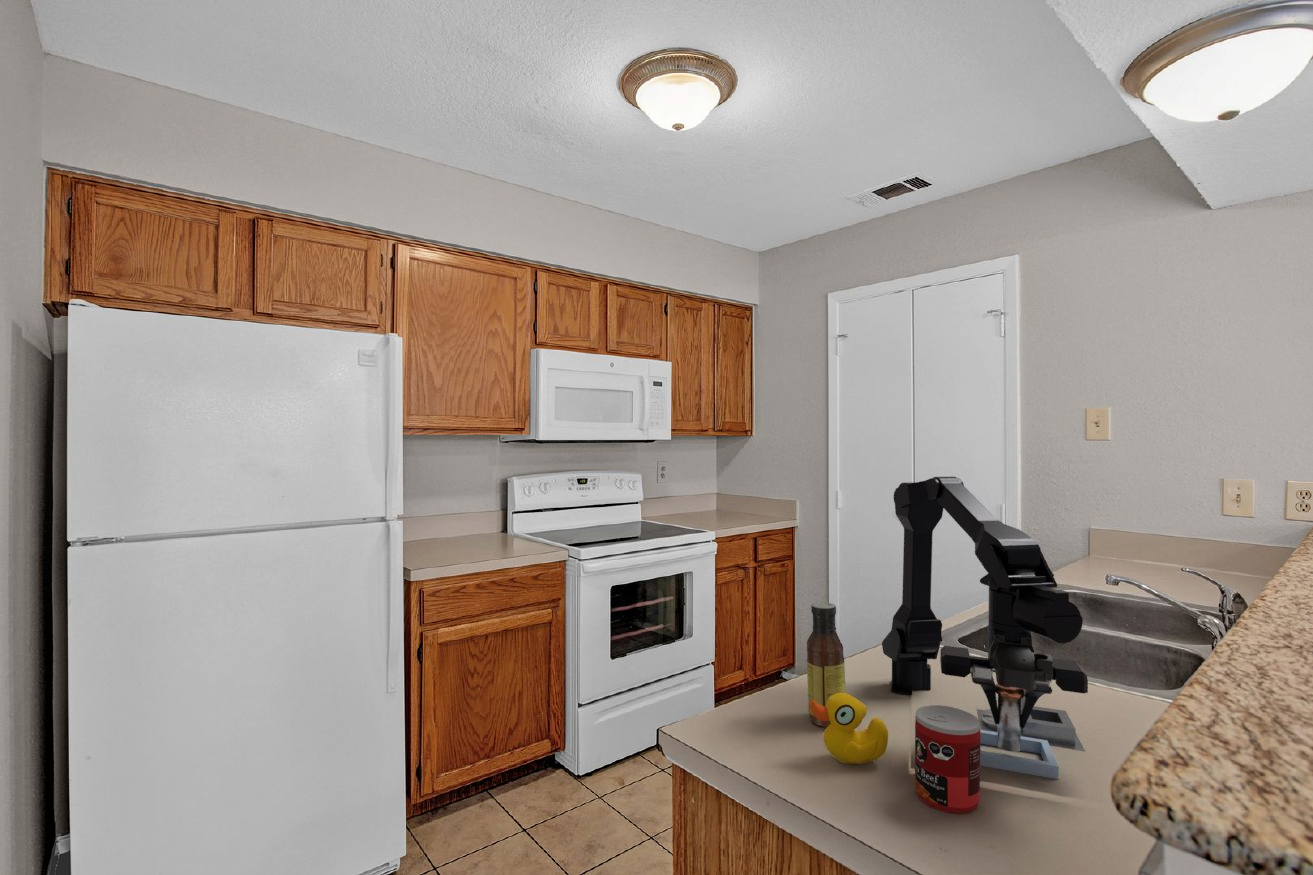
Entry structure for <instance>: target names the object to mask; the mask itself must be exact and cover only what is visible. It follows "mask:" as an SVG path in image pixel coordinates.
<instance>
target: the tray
mask: <svg viewBox="0 0 1313 875" xmlns="http://www.w3.org/2000/svg"><path fill="white" fill-rule="evenodd" d="M980 734H981V740H980V745H987V746H993V747H998V748H1000V747H999V746H998V745H997V738H998V732H991V731H985V730H981V729H980ZM1020 751H1021V752H1022V751H1023V752H1028V753H1035V754H1040V756H1041V757H1042V760H1039V759H1033V758H1028V757H1027V758H1026V757H1022V756H1015V755H1010V754H1006V753H1005V754H1004V753H999V752H991V751H988V750H981V749H980V767H981V766H982V767H988V768H993V769H998V770H1004V771H1009V772H1014V773H1015V772H1016V773H1022V774H1025V775H1032V776H1038V777H1043V778H1047V779H1048V778H1049V779H1055V780H1059V769H1060V768H1059V765H1058V762H1057V760H1056V757H1055V755H1054V753H1053V750H1052V748H1051V746H1049V743H1048V741H1047V740H1041V739H1035V738H1029V737H1023V736H1021V742H1020Z"/></svg>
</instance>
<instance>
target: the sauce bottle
mask: <svg viewBox="0 0 1313 875" xmlns="http://www.w3.org/2000/svg"><path fill="white" fill-rule="evenodd" d="M836 607H837V606H836V605H835V604H834V603H831V602H826V601H821V602H814V603H811V608H810V610H811V614H812V632H811V633H810V635H809V636H808V638H807V641H806V656H807V657H806V673H807V674H806V675H807V676H806V677H807V678H806V679H807V706H808V710H807V711H808V714H809V720H810V721H811V722H812V724H813V725H816V726H819V727H822V728H825V729H826V728H827V727H828V726H829V725H830V724H831V722H830V720H829V721H821V720H819V719H818V718H816V717H815V716H814V715H813V713H812V711H811V708H810V702H811V701H812V700H814V701H815V702H816V703H817V704H818V705H821V706H825V707H826V702H827V700H828V698H829V697H830V696H832V695H834V694H836V693H847V692H846V668H845V657H844V645H843V643H842V641H841V640H840V637H839V635H838V633H837V631H836V630H837V627H836V614H837V608H836Z"/></svg>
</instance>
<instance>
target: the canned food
mask: <svg viewBox="0 0 1313 875" xmlns="http://www.w3.org/2000/svg"><path fill="white" fill-rule="evenodd" d="M914 722H915V724H914V730H915V731H914V767H915V768H914V786H915V790H916V793H917V794H916V795H917V796H918V797H919V799H920V800H921V801H922V802H924V803H925V804H926V805H928V806H929V807H932V808H934V809H936V810H939V811H942V812H945V813H949V814H950V813H952V814H966V813H967V814H968V813H971V812H974V811H975V810H976V809H977V808H978V806H979V804H980V800H981V796H980V794H981V765H980V750H981V744H980V740H981V734H980V730H981V727H980V722H979V718H978V717H977V716H975V715H974V714H972V713H970V712H968V711H966V710H963V709H960V708H958V707H957V708H956V707H952V706H949V705H948V706H947V705H940V704H939V705H936V704H935V705H934V704H933V705H923V706H922V707H919V708H918V709H916V712H915V720H914Z"/></svg>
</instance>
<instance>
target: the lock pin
mask: <svg viewBox="0 0 1313 875" xmlns="http://www.w3.org/2000/svg"><path fill="white" fill-rule="evenodd" d="M995 692H996V695H997V708H998V738H997V745H998V746H999V747H998V748H1000V749H1002V750H1003V751H1007V752H1011V753H1012V752H1013V753H1016V752H1017V753H1018V752H1020V751H1021V750H1020V742H1021V698H1023V697H1024V689H1023V688H1016V687H1009V688H1007V687H1003V686H1000V685H999V684H998V683H997V682H996V683H995Z"/></svg>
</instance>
